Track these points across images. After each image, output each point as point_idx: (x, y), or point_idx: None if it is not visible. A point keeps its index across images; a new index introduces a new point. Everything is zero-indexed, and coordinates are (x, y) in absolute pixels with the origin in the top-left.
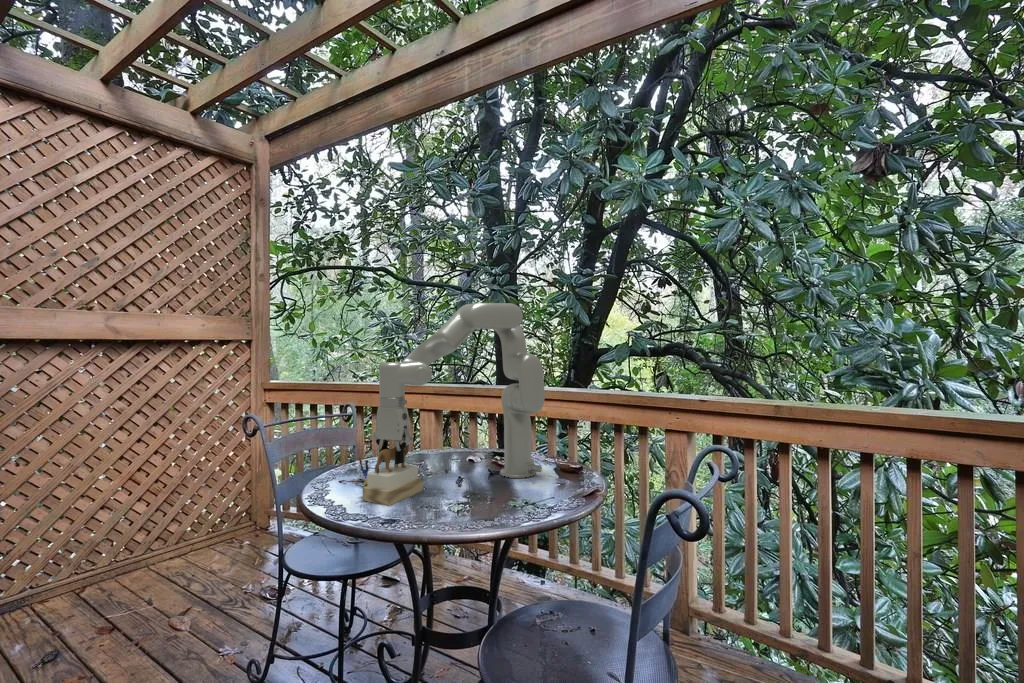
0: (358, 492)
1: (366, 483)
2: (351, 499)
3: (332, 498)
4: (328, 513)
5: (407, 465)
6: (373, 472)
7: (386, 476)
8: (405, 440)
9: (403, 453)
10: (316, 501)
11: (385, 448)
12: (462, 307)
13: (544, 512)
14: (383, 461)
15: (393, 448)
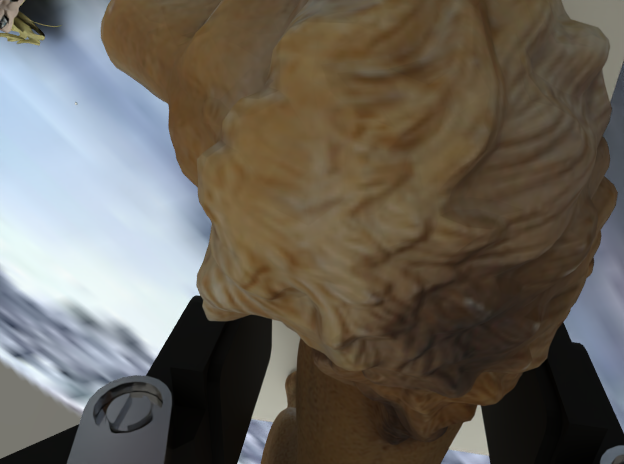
0: (102, 156)
1: (34, 43)
2: (183, 284)
3: (73, 296)
4: (250, 458)
5: None
6: (267, 379)
7: (468, 450)
8: None
9: (615, 423)
10: (50, 351)
11: (206, 441)
12: None
13: None
14: (271, 347)
15: (371, 446)
